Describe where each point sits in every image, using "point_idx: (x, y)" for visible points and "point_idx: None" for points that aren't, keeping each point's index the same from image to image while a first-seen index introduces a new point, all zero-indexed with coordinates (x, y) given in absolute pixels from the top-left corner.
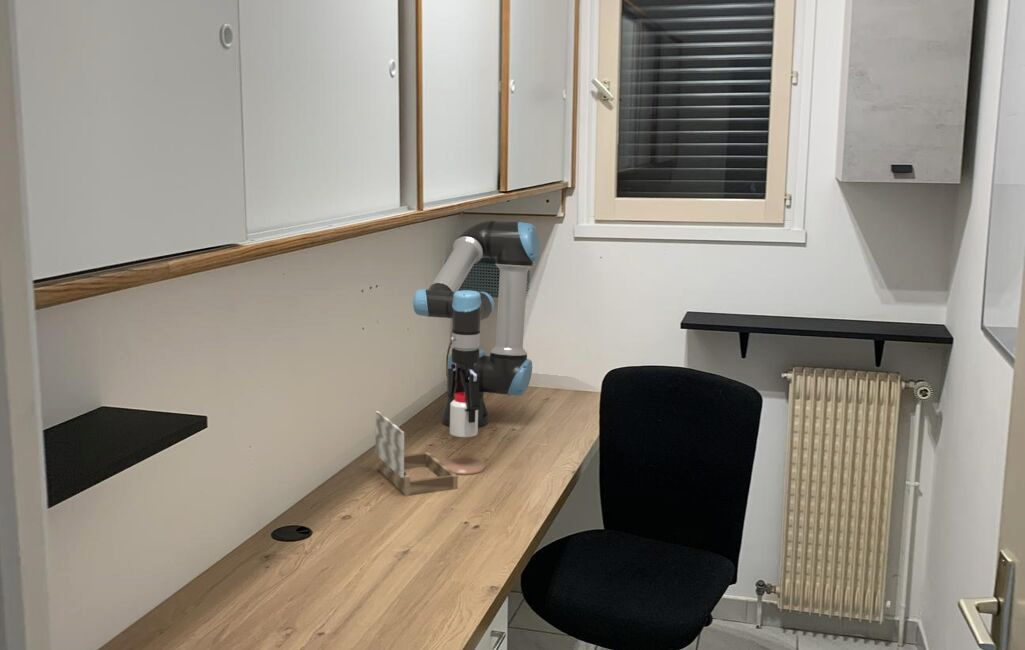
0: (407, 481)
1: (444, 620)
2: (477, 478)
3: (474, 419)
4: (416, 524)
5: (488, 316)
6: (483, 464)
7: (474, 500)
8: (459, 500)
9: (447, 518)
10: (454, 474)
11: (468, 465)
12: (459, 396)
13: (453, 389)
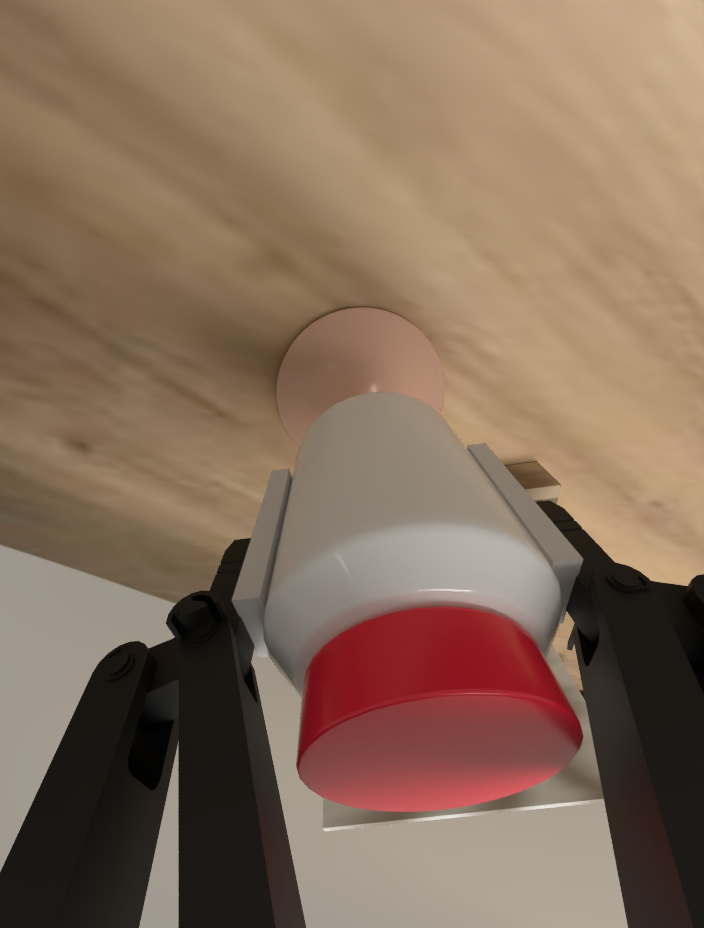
0: None
1: None
2: (485, 375)
3: (569, 519)
4: (673, 579)
5: None
6: (377, 314)
7: (650, 438)
8: (620, 476)
9: (697, 524)
10: (544, 491)
11: (372, 381)
12: (503, 795)
13: (153, 806)
